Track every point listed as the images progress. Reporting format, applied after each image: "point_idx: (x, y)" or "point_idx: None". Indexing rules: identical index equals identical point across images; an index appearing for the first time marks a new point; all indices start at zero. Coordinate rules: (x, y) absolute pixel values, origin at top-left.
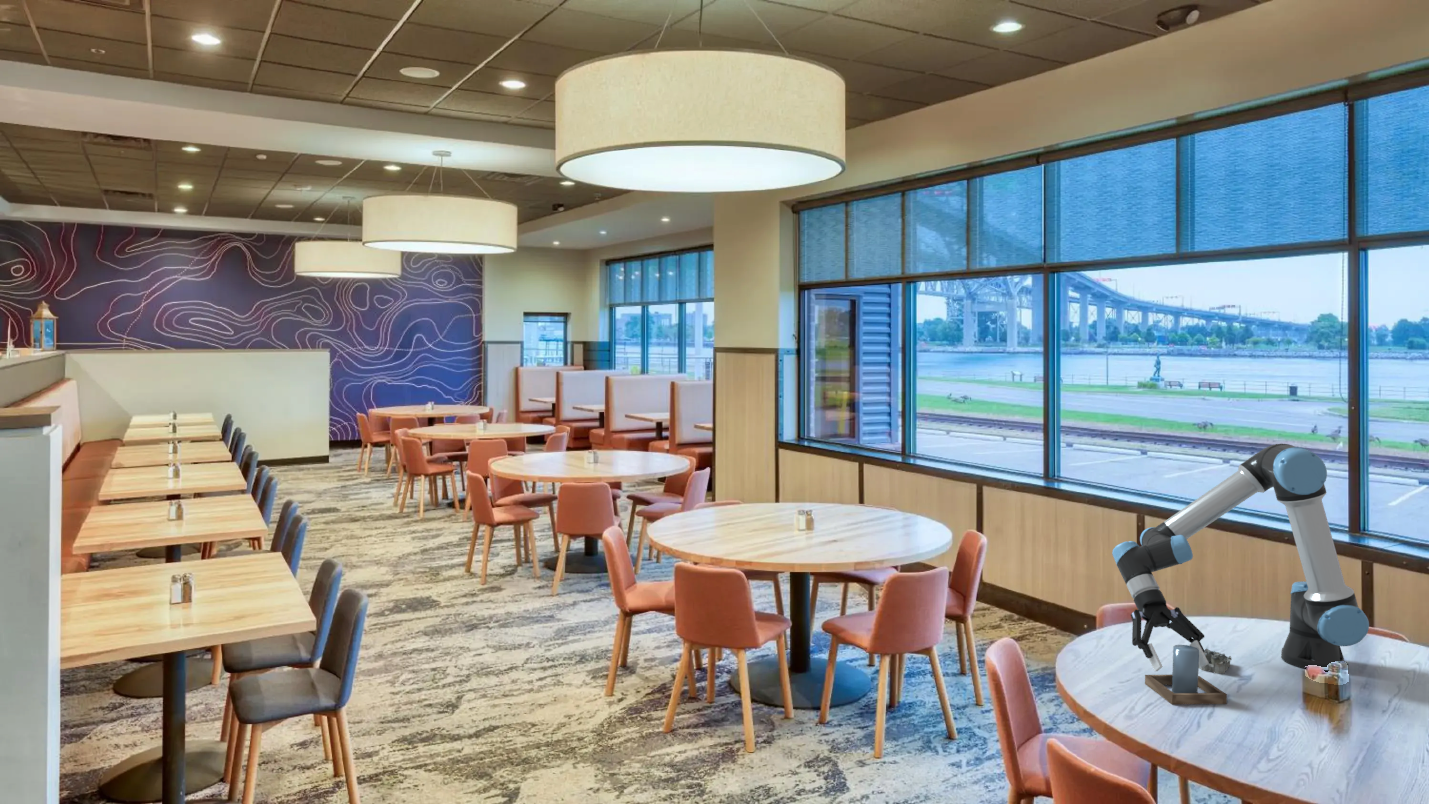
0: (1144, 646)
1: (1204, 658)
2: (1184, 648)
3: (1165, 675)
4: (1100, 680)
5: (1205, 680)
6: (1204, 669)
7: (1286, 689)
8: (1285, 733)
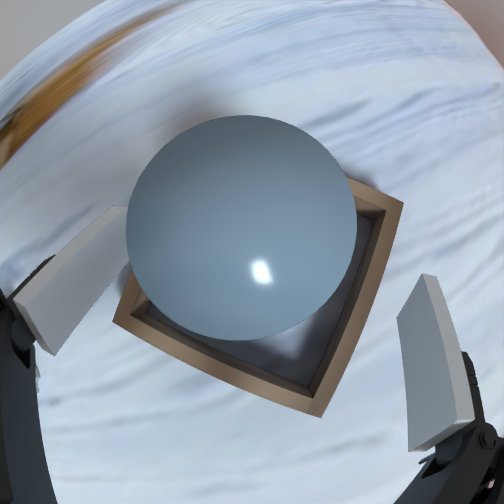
0: (480, 417)
1: (105, 222)
2: (249, 225)
3: (243, 378)
4: (415, 463)
5: None
6: (35, 369)
7: (10, 181)
8: (256, 16)
